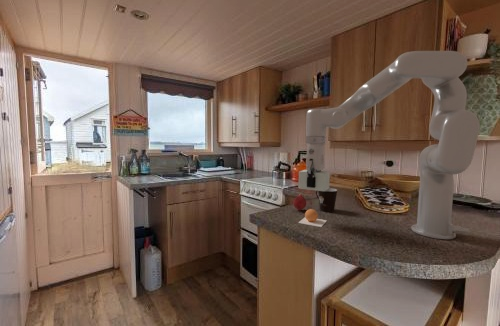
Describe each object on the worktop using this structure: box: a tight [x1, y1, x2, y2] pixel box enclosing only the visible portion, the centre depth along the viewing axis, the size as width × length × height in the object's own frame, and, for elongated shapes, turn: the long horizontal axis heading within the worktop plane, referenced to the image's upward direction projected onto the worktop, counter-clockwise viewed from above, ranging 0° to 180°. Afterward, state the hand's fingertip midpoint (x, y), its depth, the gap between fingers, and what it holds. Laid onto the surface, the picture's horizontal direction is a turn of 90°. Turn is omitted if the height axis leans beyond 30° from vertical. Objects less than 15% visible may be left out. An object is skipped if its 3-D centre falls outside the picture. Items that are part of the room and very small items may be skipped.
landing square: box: [297, 216, 328, 228], centre depth 97 cm, size 9×9×1 cm
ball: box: [304, 208, 319, 222], centre depth 98 cm, size 5×5×5 cm
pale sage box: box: [297, 169, 331, 192], centre depth 96 cm, size 10×8×7 cm
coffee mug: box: [315, 187, 338, 213], centre depth 116 cm, size 12×9×10 cm
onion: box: [292, 193, 307, 211], centre depth 113 cm, size 6×6×8 cm
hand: (314, 185), depth 96 cm, fingers closed on pale sage box, 7 cm apart
